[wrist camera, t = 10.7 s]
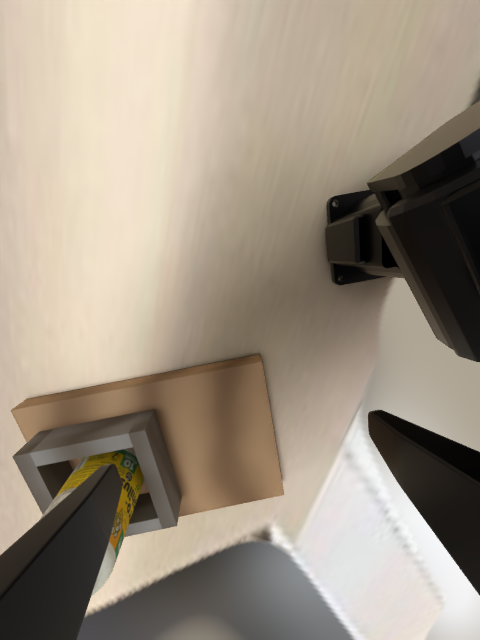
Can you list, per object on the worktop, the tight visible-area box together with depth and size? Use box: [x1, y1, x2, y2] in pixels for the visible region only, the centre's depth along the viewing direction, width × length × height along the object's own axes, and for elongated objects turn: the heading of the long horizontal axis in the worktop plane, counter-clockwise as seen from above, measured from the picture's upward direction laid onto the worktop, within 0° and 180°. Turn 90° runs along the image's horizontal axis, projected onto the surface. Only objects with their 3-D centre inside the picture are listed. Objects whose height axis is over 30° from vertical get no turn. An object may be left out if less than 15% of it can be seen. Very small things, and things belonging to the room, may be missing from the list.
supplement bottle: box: [38, 448, 144, 596], centre depth 16 cm, size 5×5×10 cm
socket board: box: [11, 354, 284, 537], centre depth 20 cm, size 20×14×4 cm
